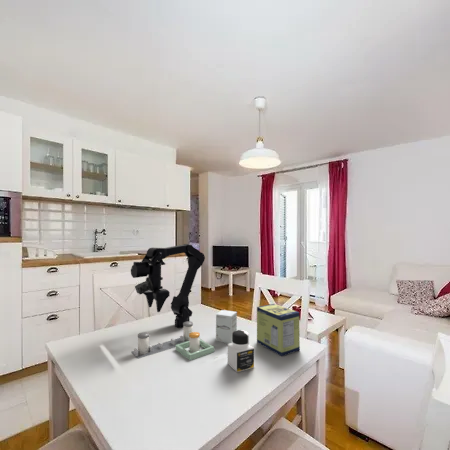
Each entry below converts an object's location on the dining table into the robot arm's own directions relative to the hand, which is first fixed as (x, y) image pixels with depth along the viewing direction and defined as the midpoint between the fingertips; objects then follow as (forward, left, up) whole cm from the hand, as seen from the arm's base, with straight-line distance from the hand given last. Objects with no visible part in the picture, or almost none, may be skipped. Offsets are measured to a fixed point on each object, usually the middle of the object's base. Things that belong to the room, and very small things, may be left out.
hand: (154, 309), depth 118 cm
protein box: (-37, +41, -13) cm, 57 cm away
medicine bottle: (-14, +43, -13) cm, 47 cm away
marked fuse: (-6, +25, -12) cm, 28 cm away
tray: (-6, +25, -12) cm, 29 cm away
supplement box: (-23, +24, -13) cm, 36 cm away
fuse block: (+1, +14, -12) cm, 19 cm away
